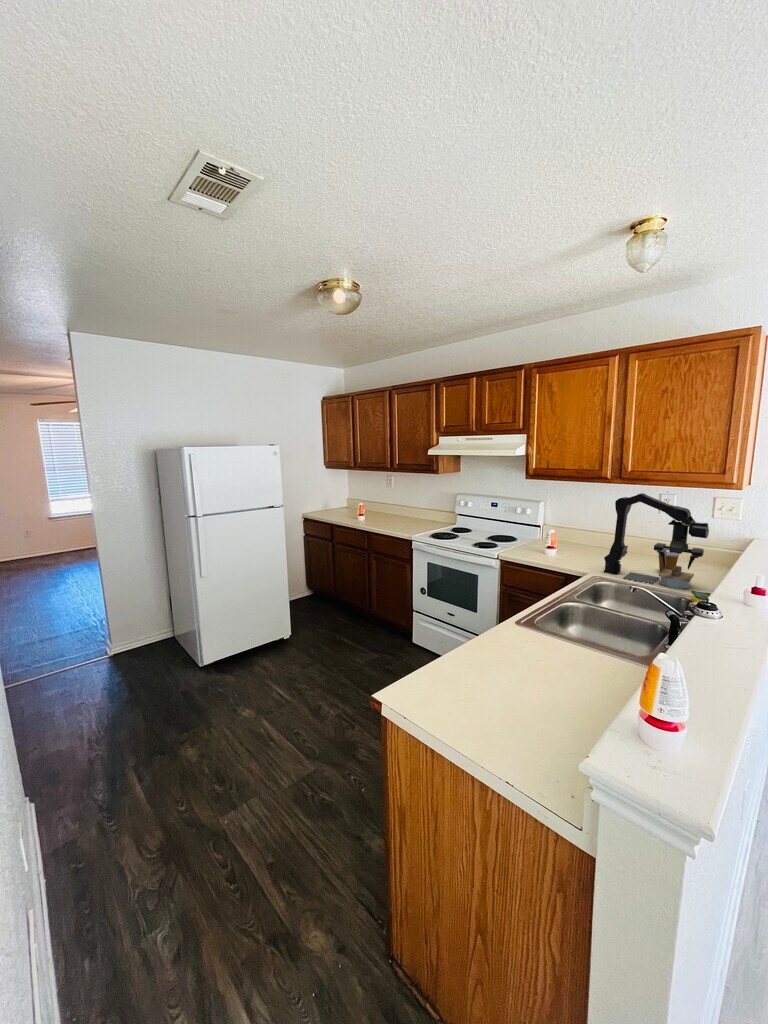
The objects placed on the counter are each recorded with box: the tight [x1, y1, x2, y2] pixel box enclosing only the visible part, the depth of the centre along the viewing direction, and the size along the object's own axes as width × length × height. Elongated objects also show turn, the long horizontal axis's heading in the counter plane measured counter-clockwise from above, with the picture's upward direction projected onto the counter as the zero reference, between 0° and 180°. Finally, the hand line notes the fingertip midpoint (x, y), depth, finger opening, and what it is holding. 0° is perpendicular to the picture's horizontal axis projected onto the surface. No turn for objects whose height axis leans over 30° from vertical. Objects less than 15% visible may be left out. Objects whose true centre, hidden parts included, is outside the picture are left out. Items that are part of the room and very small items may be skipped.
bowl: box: [660, 577, 692, 589], centre depth 198 cm, size 11×11×4 cm
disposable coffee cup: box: [657, 550, 681, 573], centre depth 216 cm, size 10×10×12 cm
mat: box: [622, 571, 661, 585], centre depth 208 cm, size 13×13×1 cm
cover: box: [657, 565, 695, 583], centre depth 197 cm, size 12×12×4 cm
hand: (676, 567), depth 197 cm, fingers open, 9 cm apart
